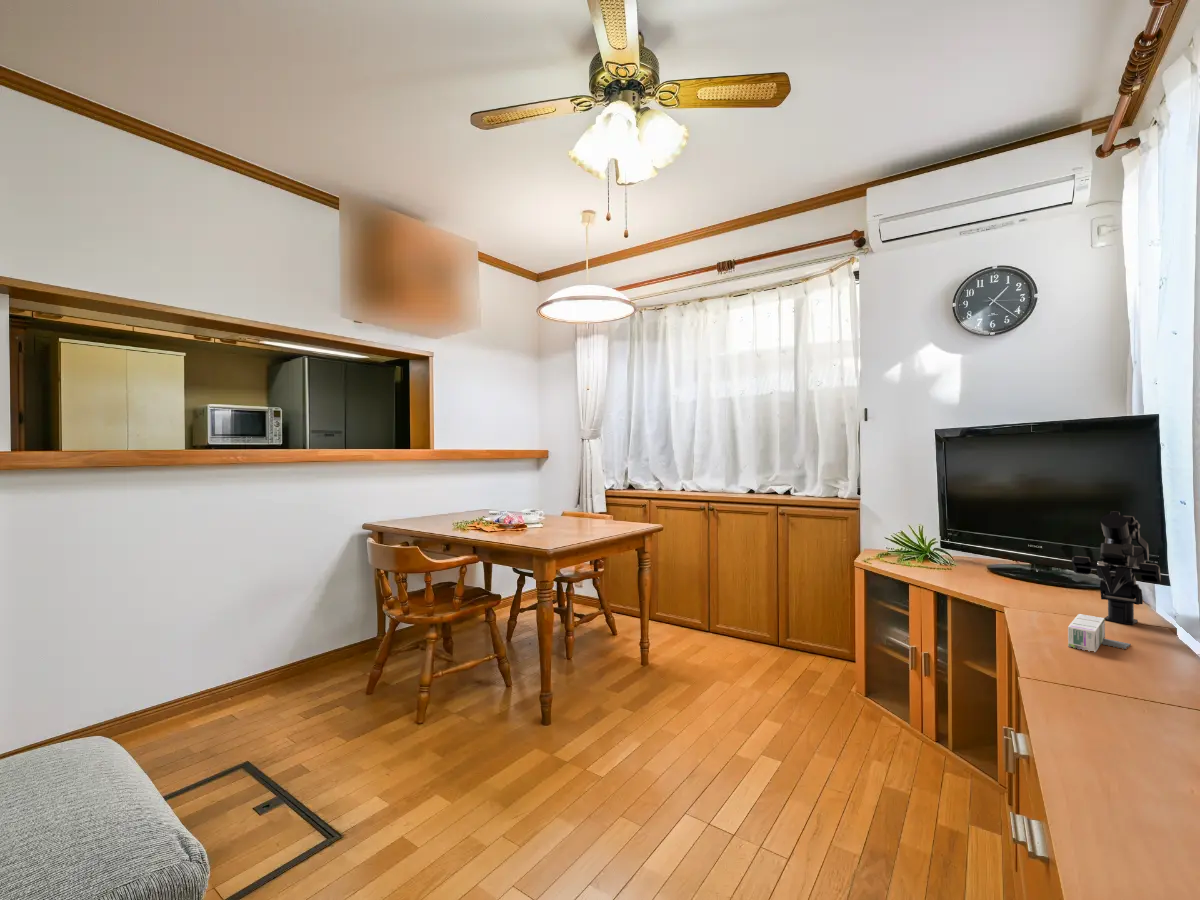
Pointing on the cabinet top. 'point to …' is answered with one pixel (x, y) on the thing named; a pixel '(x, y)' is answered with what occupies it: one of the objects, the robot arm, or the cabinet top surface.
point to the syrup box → (1086, 632)
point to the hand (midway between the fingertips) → (1111, 592)
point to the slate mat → (1115, 643)
